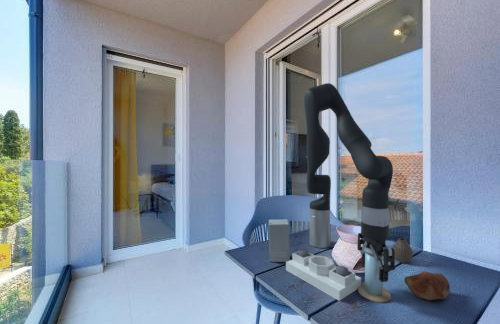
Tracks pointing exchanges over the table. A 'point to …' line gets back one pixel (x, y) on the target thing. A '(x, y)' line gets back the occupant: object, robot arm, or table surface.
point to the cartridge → (372, 274)
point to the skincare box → (279, 240)
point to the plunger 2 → (342, 271)
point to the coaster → (382, 298)
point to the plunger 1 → (303, 253)
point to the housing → (323, 275)
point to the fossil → (428, 285)
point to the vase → (402, 251)
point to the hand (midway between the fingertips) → (374, 273)
